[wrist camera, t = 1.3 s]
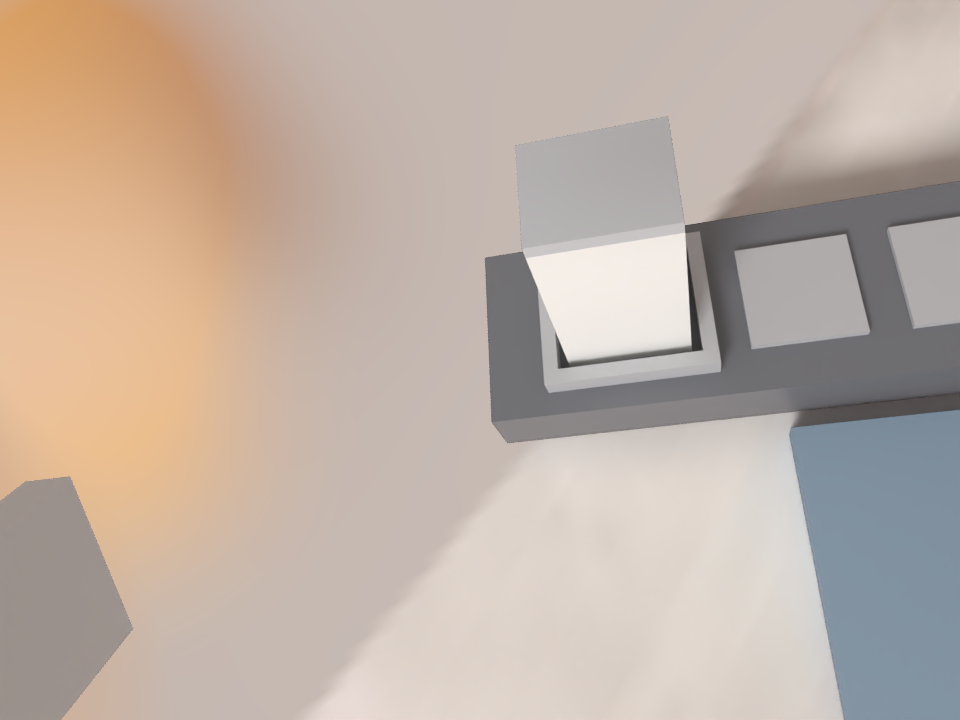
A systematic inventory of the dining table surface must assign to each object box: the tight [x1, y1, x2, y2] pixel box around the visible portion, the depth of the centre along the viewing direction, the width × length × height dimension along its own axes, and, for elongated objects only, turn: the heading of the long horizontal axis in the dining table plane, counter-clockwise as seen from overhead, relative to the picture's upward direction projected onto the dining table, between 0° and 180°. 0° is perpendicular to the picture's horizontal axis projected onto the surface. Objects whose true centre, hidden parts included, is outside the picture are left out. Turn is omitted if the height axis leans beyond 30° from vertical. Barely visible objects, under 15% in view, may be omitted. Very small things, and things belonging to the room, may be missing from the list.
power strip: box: [485, 181, 960, 443], centre depth 34 cm, size 33×8×4 cm, turn 92°
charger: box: [515, 117, 692, 367], centre depth 31 cm, size 5×4×10 cm
